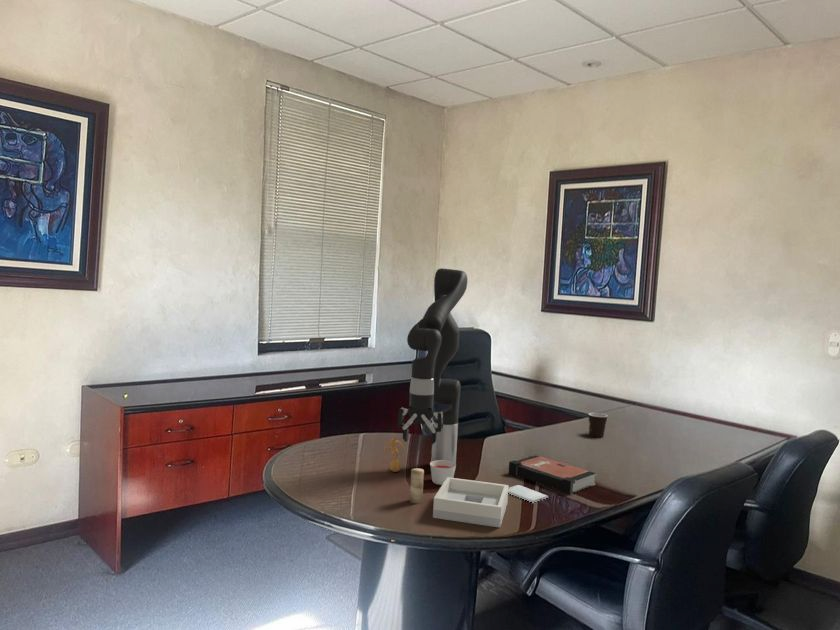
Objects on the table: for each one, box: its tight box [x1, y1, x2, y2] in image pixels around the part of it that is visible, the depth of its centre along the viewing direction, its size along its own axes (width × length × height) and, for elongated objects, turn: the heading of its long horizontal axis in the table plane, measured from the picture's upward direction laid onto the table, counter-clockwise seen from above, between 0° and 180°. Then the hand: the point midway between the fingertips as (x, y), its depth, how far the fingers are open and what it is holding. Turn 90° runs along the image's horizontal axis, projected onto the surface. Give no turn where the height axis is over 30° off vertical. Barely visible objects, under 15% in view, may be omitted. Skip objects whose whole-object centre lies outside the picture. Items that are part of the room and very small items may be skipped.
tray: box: [432, 477, 510, 528], centre depth 193 cm, size 20×20×6 cm
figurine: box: [383, 437, 406, 473], centre depth 227 cm, size 8×6×12 cm
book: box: [508, 455, 598, 495], centre depth 227 cm, size 26×18×5 cm
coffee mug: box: [587, 412, 608, 439], centre depth 294 cm, size 12×9×10 cm
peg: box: [409, 468, 425, 505], centre depth 198 cm, size 4×4×10 cm
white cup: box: [429, 460, 457, 486], centre depth 218 cm, size 9×9×6 cm
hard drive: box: [508, 484, 549, 504], centre depth 209 cm, size 2×8×12 cm
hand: (419, 442), depth 197 cm, fingers open, 8 cm apart
